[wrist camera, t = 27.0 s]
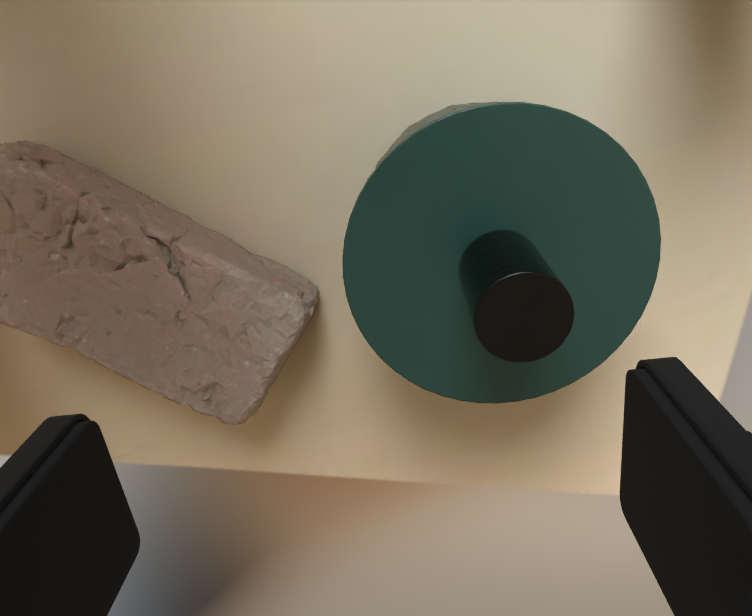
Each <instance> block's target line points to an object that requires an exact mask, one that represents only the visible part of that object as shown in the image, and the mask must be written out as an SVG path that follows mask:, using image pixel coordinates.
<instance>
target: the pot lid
mask: <svg viewBox="0 0 752 616" xmlns="http://www.w3.org/2000/svg"><path fill="white" fill-rule="evenodd" d="M660 246H661V236H660V225H659V217H658V213H657V209H656V205H655V201H654V198H653V196H652V193H651V191H650V188H649V186H648V184H647V181H646V179H645V178H644V176H643V174H642V173H641V171H640V169H639V168H638V166H637V164H636V163H635V162H634V160H633V159H632V158H631V157H630V156H629V154H628V153H627V152H626V151H625V150H624V148H623V147H622V146H621V145H620V144H618V143H617V142H616V141H615V140H614V139H613V138H612V137H610V136H609V135H608V134H607V133H606V132H604V131H603V130H601V129H600V128H598V127H596V126H595V125H593V124H592V123H590V122H589V121H587V120H585V119H582V118H580V117H578V116H576V115H573V114H571V113H569V112H566V111H563V110H559V109H556V108H552V107H549V106H545V105H540V104H532V103H525V102H496V103H489V104H482V105H476V106H472V107H468V108H465V109H461V110H458V111H454V112H452V113H450V114H447V115H445V116H443V117H440V118H438V119H436V120H433V121H432V122H430V123H428V124H427V125H425V126H423V127H422V128H420V129H418V130H416V131H415V132H413V133H412V134H411V135H409V136H408V137H407V138H406V139H404V140H403V141H402V142H401V143H399V144H398V145H397V146H396V147H395V148H394V149H393V150H392V151H391V152H390V153H389V154H388V155H387V156H386V157H385V158H384V159H383V160H382V161H381V162H380V164H379V165H378V166H377V168H376V169H375V170H374V172H373V173H372V174H371V176H370V177H369V178H368V180H367V182H366V183H365V185H364V187H363V189H362V191H361V192H360V194H359V196H358V198H357V201H356V203H355V206H354V208H353V211H352V213H351V216H350V219H349V223H348V227H347V231H346V235H345V240H344V249H343V279H344V285H345V291H346V296H347V299H348V303H349V306H350V309H351V312H352V315H353V317H354V319H355V321H356V323H357V325H358V327H359V330H360V331H361V333H362V334H363V336H364V337H365V339H366V340H367V342H368V344H369V345H370V346H371V347H372V349H373V350H374V351H375V352H376V353H377V354H378V356H379V357H380V358H381V359H382V360H383V361H384V362H385V363H386V364H387V365H389V366H390V367H391V368H392V369H393V370H394V371H395V372H397V373H398V374H400V375H401V376H403V377H404V378H406V379H407V380H408V381H410V382H412V383H414V384H416V385H418V386H419V387H421V388H423V389H425V390H427V391H430V392H433V393H435V394H438V395H441V396H444V397H448V398H452V399H456V400H460V401H467V402H475V403H507V402H517V401H521V400H526V399H531V398H536V397H539V396H542V395H545V394H548V393H551V392H554V391H556V390H558V389H560V388H563V387H565V386H567V385H569V384H571V383H573V382H575V381H576V380H578V379H580V378H581V377H583V376H585V375H586V374H588V373H589V372H591V371H592V370H593V369H595V368H596V367H597V366H599V365H600V364H601V363H603V362H604V361H605V360H606V359H607V358H608V357H609V356H610V355H611V354H612V353H613V352H614V351H615V350H616V349H617V348H618V347H619V346H620V345H621V344H622V343H623V341H624V340H625V339H626V338H627V336H628V335H629V334H630V333H631V331H632V330H633V328H634V327H635V325H636V324H637V322H638V320H639V319H640V317H641V316H642V314H643V312H644V309H645V307H646V305H647V303H648V301H649V299H650V296H651V293H652V290H653V287H654V284H655V281H656V277H657V272H658V267H659V261H660Z"/></svg>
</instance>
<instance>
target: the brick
mask: <svg viewBox="0 0 752 616" xmlns="http://www.w3.org/2000/svg"><path fill="white" fill-rule="evenodd" d="M318 299H319V290H318V288H317V287H316V286H315V285H314V284H312V283H311V282H310V281H309V280H307V279H305V278H303V277H301V276H299V275H297V274H296V273H295V272H294V271H292V270H291V269H289V268H287V267H285V266H283V265H281V264H279V263H276V262H274V261H272V260H270V259H268V258H265V257H261V256H258V255H252V254H250V253H249V252H248V251H247V250H245V249H244V248H242V247H241V246H239V245H238V244H236V243H235V242H233V241H231V240H230V239H228V238H227V237H225V236H223V235H222V234H219V233H215V232H214V231H212V230H209V229H206V228H203V227H201V226H200V225H198V224H196V223H195V222H194V221H193V220H191V219H190V218H189V217H187V216H184V215H182V214H180V213H177V212H175V211H173V210H172V209H170V208H168V207H166V206H165V205H163V204H160V203H157V202H154V201H151V199H150V198H149V197H147V196H145V195H144V194H142V193H140V192H138V191H136V190H134V189H132V188H130V187H128V186H124V185H123V184H121V183H120V182H118V181H117V180H115V179H112V178H110V177H108V176H106V175H104V174H102V173H100V172H99V171H97V170H95V169H93V168H90V167H88V166H85V165H83V164H80V163H78V162H76V161H75V160H73V159H70V158H68V157H66V156H64V155H63V154H62V153H60V152H59V151H57V150H54V149H51V148H49V147H47V146H45V145H43V144H39V143H35V142H28V141H18V142H16V143H6V142H5V143H3V144H1V145H0V323H2V324H4V325H7V326H9V327H12V328H15V329H18V330H21V331H24V332H27V333H30V334H32V335H35V336H37V337H41V338H45V339H47V340H49V341H51V342H52V343H54V344H57V345H60V346H64V347H71V348H75V349H76V350H77V351H78V352H79V353H80V354H81V355H82V356H84V357H86V358H88V359H91V360H92V361H94V362H96V363H98V364H100V365H102V366H104V367H105V368H107V369H109V370H111V371H113V372H115V373H117V374H119V375H121V376H123V377H126V378H128V379H131V380H132V381H134V382H136V383H138V384H140V385H142V386H144V387H146V388H148V389H150V390H152V391H154V392H157V393H159V394H161V395H162V396H163V397H165V398H167V399H169V400H171V401H174V402H176V403H178V404H181V405H189V406H190V407H191V408H192V410H194V411H196V412H199V413H201V414H204V415H209V416H214V417H216V418H217V419H219V420H220V421H222V422H223V423H226V424H232V425H237V424H241V423H243V422H245V421H246V420H247V418H248V417H249V416H251V415H253V414H254V413H255V412H256V411H257V410H258V408H259V407H260V406H261V404H262V402H263V400H264V399H265V396H266V394H267V391H268V388H269V387H270V386H271V385H272V383H273V382H274V381H275V380H276V378H277V374H278V372H279V370H280V369H281V367H282V366H283V365H284V363H285V361H286V360H287V358H288V356H289V353H290V351H291V349H292V348H293V347H294V345H295V344H296V342H297V340H298V339H299V337H300V336H301V334H302V332H303V331H304V329H305V327H306V325H307V323H308V322H309V320H310V318H311V316H312V314H313V312H314V308H315V306H316V304H317V302H318Z"/></svg>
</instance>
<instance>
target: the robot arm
mask: <svg viewBox="0 0 752 616" xmlns="http://www.w3.org/2000/svg"><path fill="white" fill-rule="evenodd" d="M620 502H621V507H622V511H623V514H624V516H625V518H626V520H627V522H628V524H629V526H630V528H631V530H632V532H633V534H634V536H635V538H636V540H637V542H638V544H639V546H640V548H641V550H642V552H643V554H644V556H645V558H646V560H647V562H648V564H649V566H650V568H651V570H652V572H653V574H654V576H655V578H656V580H657V582H658V584H659V586H660V588H661V590H662V592H663V594H664V596H665V598H666V600H667V602H668V604H669V606H670V608H671V610H672V612H673V614H674V616H752V433H750V432H748V431H746V430H745V429H744V428H743V427H742V426H741V425H740V424H739V423H738V422H737V421H736V420H735V418H734V417H733V416H732V415H731V414H730V413H729V412H728V411H727V410H726V409H725V408H724V407H723V406H722V405H721V404H720V402H719V401H718V400H717V399H716V398H715V397H714V396H713V395H712V394H711V393H710V392H709V391H708V390H707V389H706V387H705V386H704V385H703V384H702V383H701V382H700V381H699V380H698V379H697V378H696V377H695V376H694V375H693V374H692V372H691V371H690V370H689V369H688V368H687V367H686V366H685V365H684V364H683V363H682V362H681V361H680V360H679V359H678V358H676V357H669V358H658V359H648V360H640V361H639V362H638V364H637V366H636V369H633V370H629V371H628V372H627V374H626V384H625V404H624V423H623V442H622V461H621V480H620ZM139 547H140V536H139V532H138V529H137V527H136V524H135V521H134V519H133V516H132V513H131V510H130V508H129V505H128V502H127V500H126V497H125V494H124V492H123V489H122V486H121V484H120V481H119V478H118V475H117V473H116V470H115V467H114V465H113V462H112V459H111V457H110V454H109V451H108V448H107V446H106V443H105V440H104V438H103V435H102V432H101V430H100V427H99V425H98V424H97V423H96V422H94V421H90V420H89V418H88V417H87V416H86V415H83V414H74V415H64V416H53V417H49V418H47V419H46V420H45V421H44V422H43V423H42V424H41V425H40V426H39V427H38V428H37V429H36V430H35V431H34V432H33V433H32V434H31V436H30V437H29V438H28V439H27V440H26V441H25V442H24V443H23V444H22V445H21V446H20V447H19V448H18V450H17V451H16V452H15V453H14V454H13V455H12V456H11V457H10V458H9V459H8V460H7V461H6V463H4V465H3V466H2V467H1V468H0V616H107V614H108V613H109V611H110V608H111V607H112V604H113V602H114V600H115V598H116V597H117V595H118V593H119V590H120V589H121V586H122V585H123V583H124V580H125V579H126V577H127V574H128V573H129V570H130V568H131V567H132V564H133V563H134V561H135V559H136V556H137V554H138V551H139Z"/></svg>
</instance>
